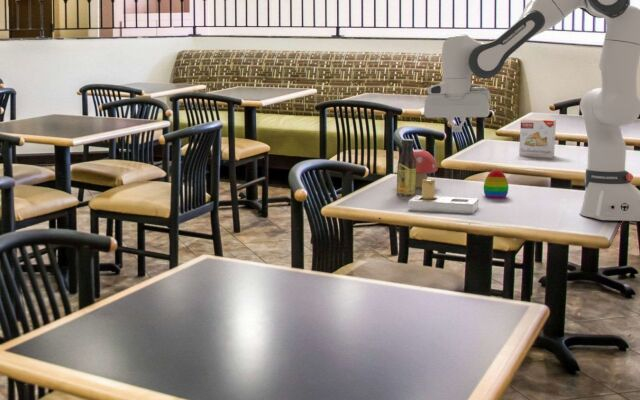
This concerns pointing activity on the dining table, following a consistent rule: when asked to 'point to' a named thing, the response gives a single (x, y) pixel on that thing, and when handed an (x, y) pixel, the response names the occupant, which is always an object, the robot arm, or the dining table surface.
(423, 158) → the decorative mushroom
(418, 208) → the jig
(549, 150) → the cracker box
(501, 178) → the decorative egg
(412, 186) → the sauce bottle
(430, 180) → the brass cylinder
